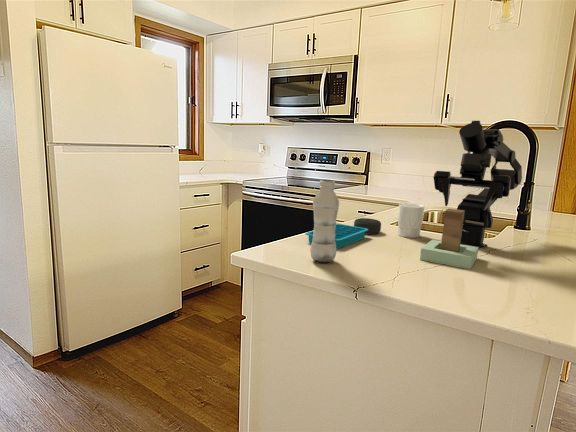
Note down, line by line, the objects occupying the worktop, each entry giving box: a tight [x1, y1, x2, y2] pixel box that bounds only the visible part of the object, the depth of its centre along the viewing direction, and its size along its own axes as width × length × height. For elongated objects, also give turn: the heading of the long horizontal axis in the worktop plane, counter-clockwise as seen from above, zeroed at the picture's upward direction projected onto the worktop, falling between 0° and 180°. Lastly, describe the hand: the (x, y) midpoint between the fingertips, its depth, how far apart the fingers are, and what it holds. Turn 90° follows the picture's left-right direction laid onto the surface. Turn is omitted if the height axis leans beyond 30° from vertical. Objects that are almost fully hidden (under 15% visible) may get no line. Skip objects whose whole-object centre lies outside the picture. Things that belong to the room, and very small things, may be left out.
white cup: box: [397, 203, 425, 239], centre depth 128 cm, size 8×8×10 cm
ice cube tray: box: [305, 223, 368, 249], centre depth 119 cm, size 12×20×3 cm, turn 144°
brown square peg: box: [441, 208, 465, 253], centre depth 102 cm, size 4×4×13 cm
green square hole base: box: [419, 239, 480, 270], centre depth 103 cm, size 12×12×3 cm
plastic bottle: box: [309, 179, 340, 263], centre depth 95 cm, size 6×7×20 cm
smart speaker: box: [353, 217, 382, 235], centre depth 131 cm, size 9×9×4 cm
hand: (464, 207), depth 103 cm, fingers open, 9 cm apart
